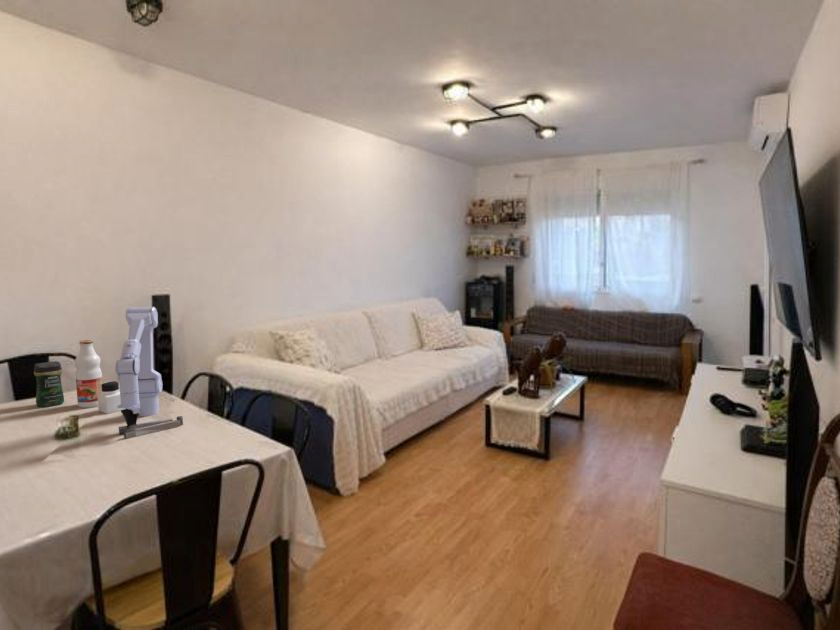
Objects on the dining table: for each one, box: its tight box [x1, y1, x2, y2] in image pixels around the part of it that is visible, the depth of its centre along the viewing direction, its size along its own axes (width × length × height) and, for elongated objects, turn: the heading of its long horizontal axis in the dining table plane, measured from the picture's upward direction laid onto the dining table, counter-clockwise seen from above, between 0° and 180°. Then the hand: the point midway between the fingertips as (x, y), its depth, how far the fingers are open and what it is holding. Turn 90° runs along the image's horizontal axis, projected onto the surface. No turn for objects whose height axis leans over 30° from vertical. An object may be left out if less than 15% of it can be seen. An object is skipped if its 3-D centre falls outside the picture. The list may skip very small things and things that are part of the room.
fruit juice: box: [74, 339, 104, 409], centre depth 212 cm, size 9×9×28 cm
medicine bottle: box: [97, 380, 125, 415], centre depth 206 cm, size 7×7×12 cm
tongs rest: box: [123, 415, 184, 440], centre depth 180 cm, size 18×22×4 cm
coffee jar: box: [33, 360, 65, 408], centre depth 213 cm, size 10×8×19 cm
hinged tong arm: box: [118, 418, 174, 436], centre depth 179 cm, size 17×2×2 cm, turn 123°
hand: (131, 428), depth 178 cm, fingers closed
